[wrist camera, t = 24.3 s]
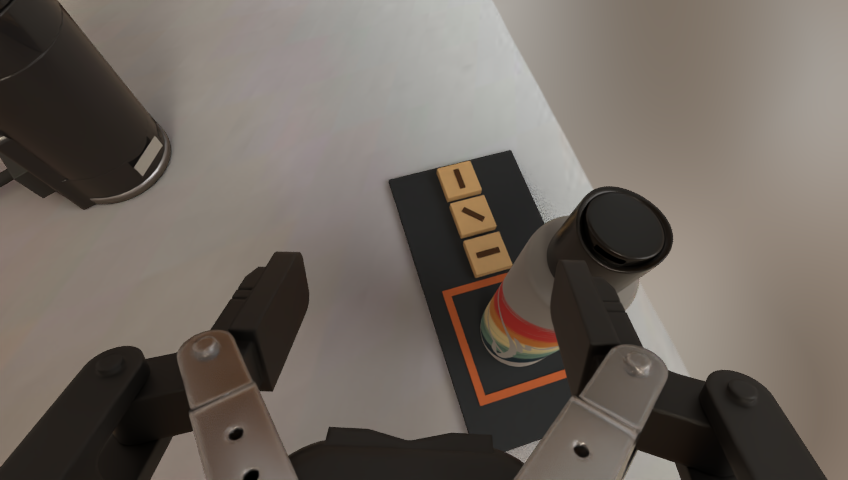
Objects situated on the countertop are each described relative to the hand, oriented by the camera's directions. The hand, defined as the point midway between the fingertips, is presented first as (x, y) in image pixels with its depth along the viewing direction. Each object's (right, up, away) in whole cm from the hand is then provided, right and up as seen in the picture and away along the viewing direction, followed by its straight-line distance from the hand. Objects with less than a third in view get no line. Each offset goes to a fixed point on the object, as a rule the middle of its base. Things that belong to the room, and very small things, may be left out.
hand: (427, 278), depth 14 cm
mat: (+6, -3, +23) cm, 24 cm away
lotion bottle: (+7, -6, +22) cm, 24 cm away
